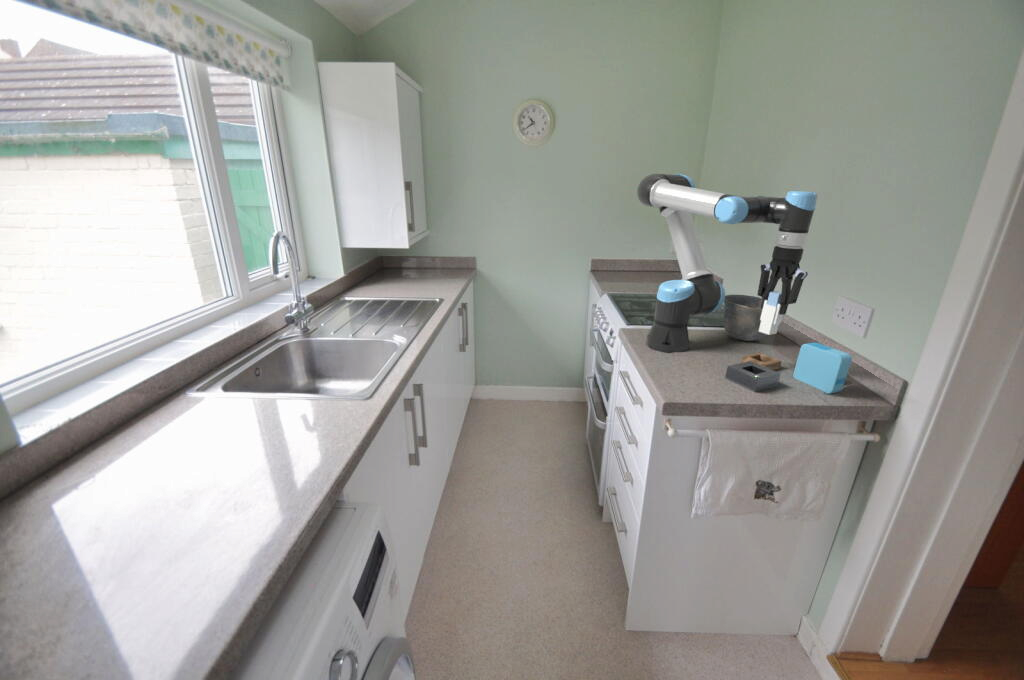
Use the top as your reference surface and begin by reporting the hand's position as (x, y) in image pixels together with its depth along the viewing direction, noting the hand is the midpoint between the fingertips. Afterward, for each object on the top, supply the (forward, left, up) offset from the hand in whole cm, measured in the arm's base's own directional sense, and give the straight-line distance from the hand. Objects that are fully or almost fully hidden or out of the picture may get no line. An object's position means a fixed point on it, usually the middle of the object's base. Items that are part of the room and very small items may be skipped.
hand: (770, 321), depth 136 cm
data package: (+16, +3, -16) cm, 23 cm away
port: (+7, -14, -16) cm, 22 cm away
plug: (0, 0, -4) cm, 4 cm away
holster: (0, 0, -16) cm, 16 cm away
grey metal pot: (-22, +19, -16) cm, 33 cm away
